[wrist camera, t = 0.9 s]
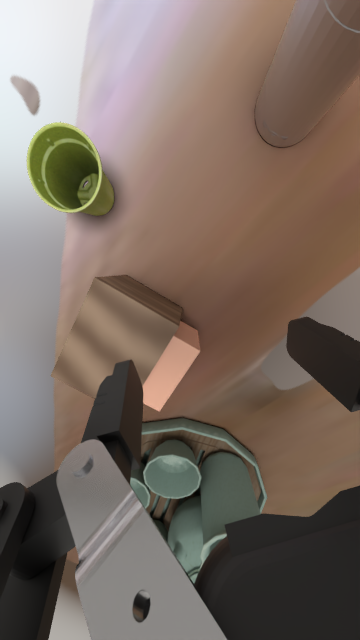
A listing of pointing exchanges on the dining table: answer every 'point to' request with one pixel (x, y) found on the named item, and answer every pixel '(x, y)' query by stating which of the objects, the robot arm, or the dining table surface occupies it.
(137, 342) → the brown box with drawer
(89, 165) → the plant pot
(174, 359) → the salmon pink block
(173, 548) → the tea set
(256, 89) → the dining table surface
